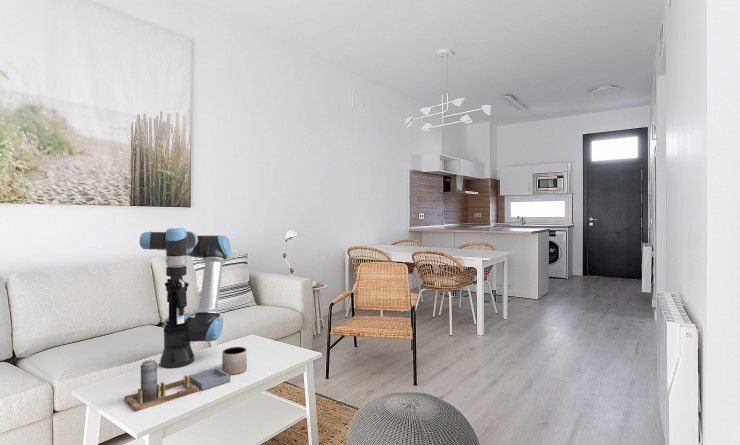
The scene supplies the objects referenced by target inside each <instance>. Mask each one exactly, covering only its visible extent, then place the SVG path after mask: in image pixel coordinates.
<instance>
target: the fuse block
mask: <svg viewBox="0 0 740 445" xmlns="http://www.w3.org/2000/svg"><path fill="white" fill-rule="evenodd" d="M180 386H184V389H182V390H181V389H180V390H179V391H176V392H175V393H172V394H168V395H166V392H167V390H170V389H173V388H177V387H180ZM199 391H200V390H199V388H198V387H197V386H195V385H194V384H192V383H191V382H189V375H184V379H180V380H178V381H174V382H170V383H167V384H166V383H164V382H163V381H161V382H160V384H158V363H157V362H156V360H153V359H149V360H144V361H143V362H142V364H141V365H140V388H137V392H135V393H132V394H128V395H126V396H123V398H124V400H123V401H124V402H125V403H126V404H127V405H128V406H129V407H130V408H131V409H132V410H133V411H134V412H139V411H142V410H145V409H149V408H151V407H153V406H158V405H161V404H164V403H167V402H170V401H174V400H176V399H179V398H182V397H185V396H189V395H191V394H195V393H197V392H199ZM161 396H162V397H161ZM136 400H137V401H136Z"/></svg>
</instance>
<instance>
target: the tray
mask: <svg viewBox="0 0 740 445" xmlns="http://www.w3.org/2000/svg"><path fill="white" fill-rule="evenodd" d="M188 377H189V382H191V383H192V384H194V385H195V386H197V387H198V388H199V391H201V392H204V391H206V390H209V389H213V388H216V387H219V386H223V385H225V384H228V383H231V375H229V374H227V373H225V372H224V371H222V369H220V368H218V367H214V368H211V369H207V370H203V371H201V372H196V373H193V374H190V375H188Z"/></svg>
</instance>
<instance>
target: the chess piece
mask: <svg viewBox="0 0 740 445" xmlns="http://www.w3.org/2000/svg"><path fill="white" fill-rule="evenodd" d="M183 282H186V281H185V280H183ZM164 286H165V289H166V290H165V291H166V292H167V291H168V292H169V296H168V299H169V302H168V317H169V321H166V324H168V325H165V328H166V329H164V328H163V333H164V332H165V333H166V334H167V335H175V334H181V333H187V332H190V330H189V329H188V328H189V326H188V325H186V324H187V322H186V321H185V313H186V312H185V307H186V306H185V307H184V323H182V324H177V308H176V307H178V305H177V298H176V291H175V290H177V291H179V287H174V285H173V284H170V283H169V282H167V281H166V282H164ZM188 287H189V283H188V282H186V292H188Z"/></svg>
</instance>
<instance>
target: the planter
mask: <svg viewBox="0 0 740 445" xmlns="http://www.w3.org/2000/svg"><path fill="white" fill-rule="evenodd" d="M247 350H248V349H247V348H246V347H242V346H233V347H228V348H226V349H223V350H222V352H221V353H222V357H221V359H222V361H221V362H222V365H221V367H222V368H221V370H222V371H224V372H225V373H227V374H229V375H230V376H234V375H235V376H236V375H240V374H243V373H244V372H245V371H247V368H248V362H247V361H248V360H247V358H248V355H247V353H248V352H247Z"/></svg>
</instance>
